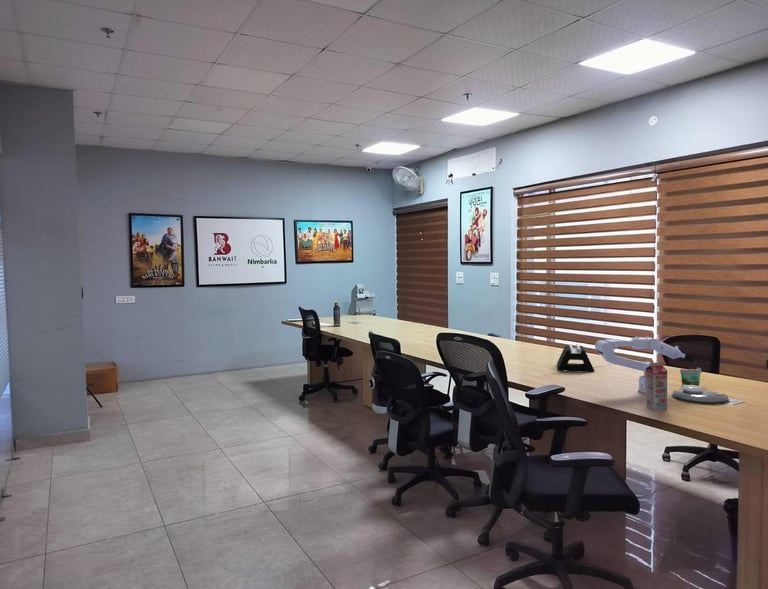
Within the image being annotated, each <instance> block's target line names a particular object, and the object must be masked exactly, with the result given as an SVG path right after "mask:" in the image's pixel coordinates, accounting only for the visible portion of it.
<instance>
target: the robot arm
mask: <svg viewBox="0 0 768 589" xmlns="http://www.w3.org/2000/svg"><path fill="white" fill-rule="evenodd" d="M594 347H595V350H596V353H597V354H599V355H600V356H601V357H602V358H603V359H604V361H606V362H607V363H609V364H613V365H617V366H621V367H625V368H628V369H633V370H637V371H642V372H643V373H644V374H643V375H640V376H639V378H638V390H637V391H638V392H641V393H643V394H645V395H646V368H647V367H649V363H652V362H650V361H639V360H634V359H630V358H627V357H623V356H619V355H616V354H615V350H616V349H617V348H618V347H631V348H632V349H641V350H642V349H645V350H646V349H650V350H653V351H655V352H656V353H659V354H661V355H663V356H667V357H668V358H670V359H672V360H675V359H676V360H679V361H680V362H689V363H694V362H695V358H694V357H693V356H692V355H690V354H689V353H688V352H687V351H685V350H684V351H683V352H681V350H680V348H679V346H678V345H675V346H671V345H670V344H668V343H665V342H663V341H660V340H658V339H657V338H653V337H648V336H645V337H639V336H635V337H632V338H631V339H615V338H613V339H608V338H607V339H604V340H603V339H599V340H597V341H596V342H595V343H594Z"/></svg>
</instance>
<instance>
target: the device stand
mask: <svg viewBox="0 0 768 589" xmlns="http://www.w3.org/2000/svg"><path fill="white" fill-rule="evenodd" d="M575 346H576V347H573V345H572V343H569V345H567V344H566V345H565V346H564V348H563V349H562V351H561V353H560V356H559V358H558V360H557V362H556V366H557V367H556V368H557V371H558V370H567V371H566V372H577V371H589V372H588V373H594V372H595V369H594V366H593V365H592V363H591V360H590V358H589V356H588V354H587V352H586V350H585V348H584V346H583V345H579V344H578V343H576V345H575ZM569 361H582V363H574V362H573V363H571V362H569Z"/></svg>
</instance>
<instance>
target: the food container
mask: <svg viewBox="0 0 768 589" xmlns="http://www.w3.org/2000/svg"><path fill="white" fill-rule="evenodd" d="M679 373H680V378H681V387H682V388H683V386H684V385H695V386H700V382H701V381H700V380H701V374H702V373H703V372H702V369H701V367H696V368H695V369H694V368H687V369H684V368H680V371H679Z"/></svg>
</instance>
